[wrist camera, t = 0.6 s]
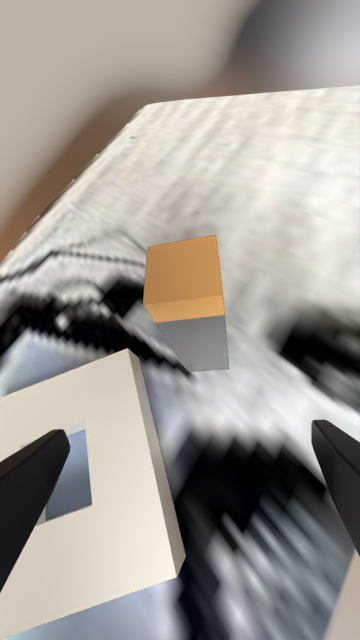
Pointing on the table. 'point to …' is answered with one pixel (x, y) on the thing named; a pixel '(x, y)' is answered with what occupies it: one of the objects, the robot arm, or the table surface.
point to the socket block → (106, 491)
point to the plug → (188, 301)
